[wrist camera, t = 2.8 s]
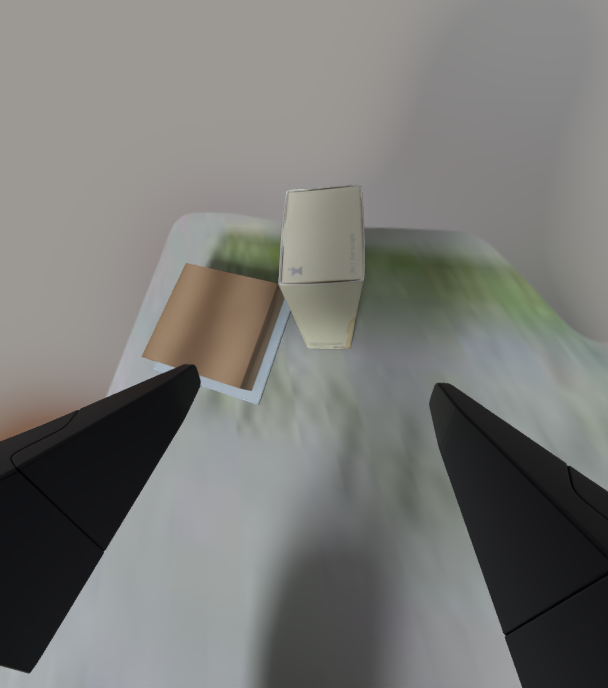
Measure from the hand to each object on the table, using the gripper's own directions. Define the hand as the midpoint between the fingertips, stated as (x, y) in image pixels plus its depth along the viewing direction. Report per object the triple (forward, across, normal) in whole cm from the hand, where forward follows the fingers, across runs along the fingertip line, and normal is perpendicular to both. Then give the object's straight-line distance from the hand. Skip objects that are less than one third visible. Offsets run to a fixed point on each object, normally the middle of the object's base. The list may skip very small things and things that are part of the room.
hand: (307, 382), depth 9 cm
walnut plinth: (+13, +11, +5) cm, 18 cm away
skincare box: (+15, 0, +4) cm, 16 cm away
